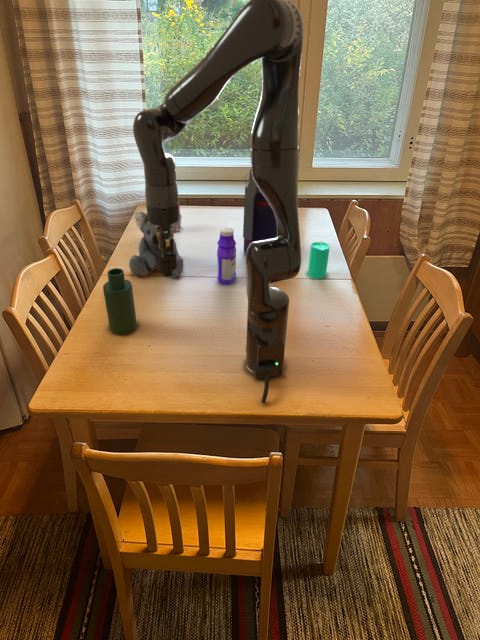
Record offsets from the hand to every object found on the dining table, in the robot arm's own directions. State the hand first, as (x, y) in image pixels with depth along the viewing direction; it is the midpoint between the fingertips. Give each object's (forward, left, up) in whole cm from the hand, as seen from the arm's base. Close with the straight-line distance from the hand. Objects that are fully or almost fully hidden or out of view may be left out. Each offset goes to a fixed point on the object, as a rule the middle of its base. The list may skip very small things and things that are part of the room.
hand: (167, 266), depth 119 cm
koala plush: (+36, 0, -19) cm, 41 cm away
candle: (+20, -50, -19) cm, 57 cm away
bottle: (+22, -20, -19) cm, 35 cm away
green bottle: (+2, +13, -18) cm, 22 cm away
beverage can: (+66, -8, -19) cm, 69 cm away
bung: (0, 0, -2) cm, 2 cm away
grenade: (+38, -35, -19) cm, 55 cm away
